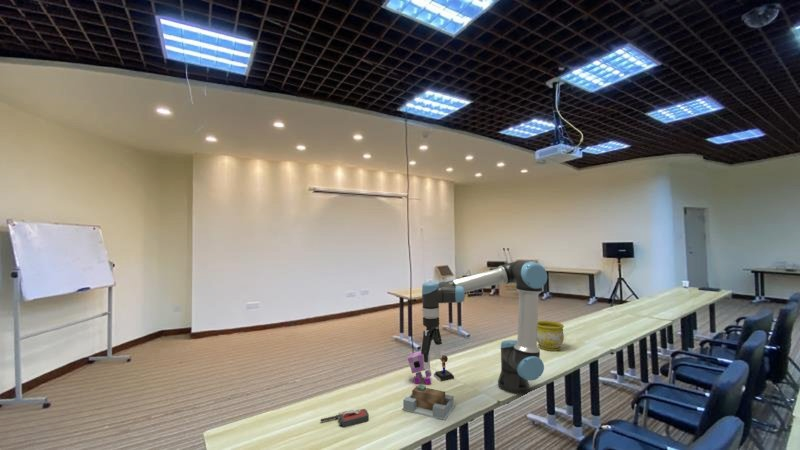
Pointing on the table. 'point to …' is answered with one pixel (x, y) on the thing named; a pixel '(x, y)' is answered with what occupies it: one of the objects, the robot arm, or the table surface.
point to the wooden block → (428, 397)
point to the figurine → (443, 371)
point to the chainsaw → (350, 417)
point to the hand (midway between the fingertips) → (432, 363)
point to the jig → (437, 412)
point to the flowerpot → (550, 335)
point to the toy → (418, 367)
